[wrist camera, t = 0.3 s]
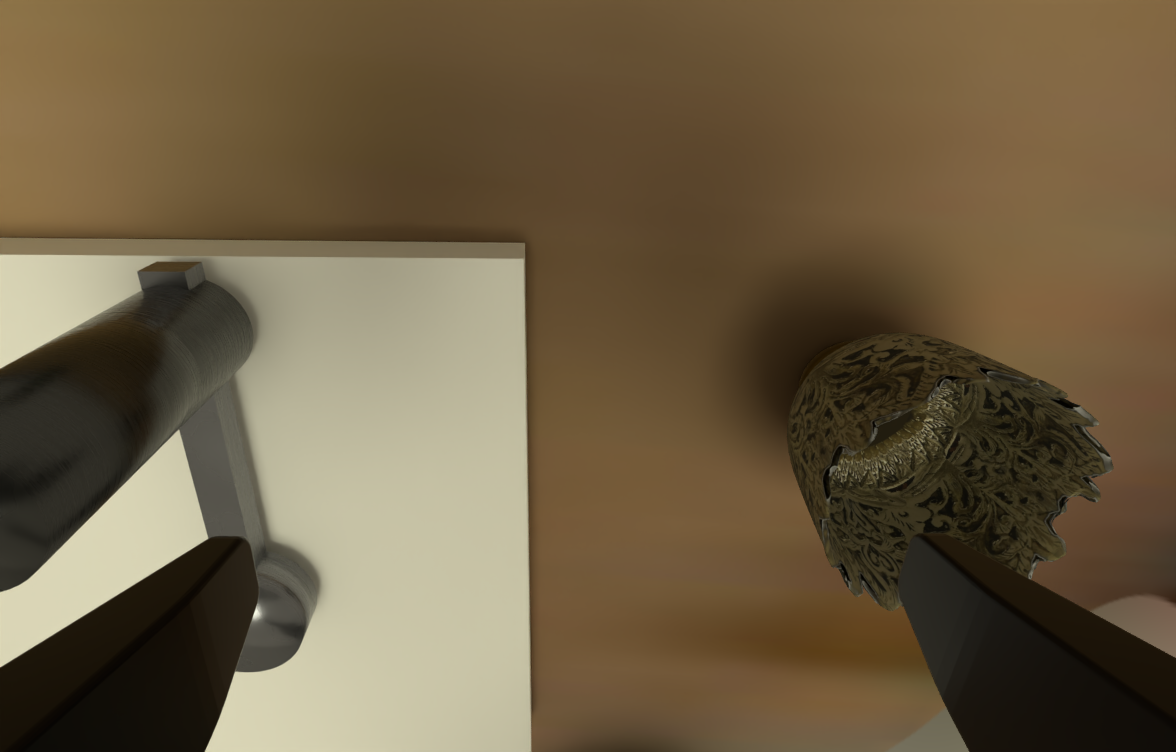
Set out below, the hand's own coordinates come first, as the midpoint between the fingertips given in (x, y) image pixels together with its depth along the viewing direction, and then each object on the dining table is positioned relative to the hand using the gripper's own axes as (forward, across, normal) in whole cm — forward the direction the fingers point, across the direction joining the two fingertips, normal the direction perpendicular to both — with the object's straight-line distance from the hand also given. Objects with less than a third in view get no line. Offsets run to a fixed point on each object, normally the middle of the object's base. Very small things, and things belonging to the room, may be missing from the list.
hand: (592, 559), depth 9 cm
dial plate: (+14, +13, +10) cm, 22 cm away
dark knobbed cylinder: (+12, +11, +6) cm, 17 cm away
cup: (+14, -10, +4) cm, 18 cm away
